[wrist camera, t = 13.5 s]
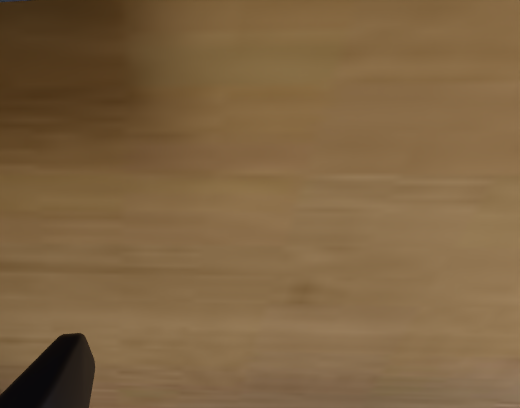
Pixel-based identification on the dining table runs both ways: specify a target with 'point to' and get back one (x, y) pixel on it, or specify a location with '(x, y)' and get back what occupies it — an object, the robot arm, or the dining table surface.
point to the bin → (12, 0)
